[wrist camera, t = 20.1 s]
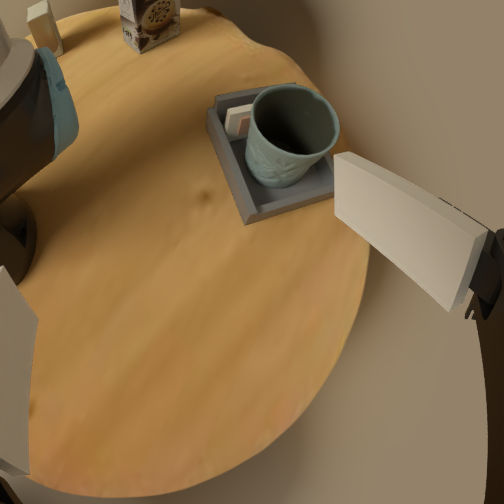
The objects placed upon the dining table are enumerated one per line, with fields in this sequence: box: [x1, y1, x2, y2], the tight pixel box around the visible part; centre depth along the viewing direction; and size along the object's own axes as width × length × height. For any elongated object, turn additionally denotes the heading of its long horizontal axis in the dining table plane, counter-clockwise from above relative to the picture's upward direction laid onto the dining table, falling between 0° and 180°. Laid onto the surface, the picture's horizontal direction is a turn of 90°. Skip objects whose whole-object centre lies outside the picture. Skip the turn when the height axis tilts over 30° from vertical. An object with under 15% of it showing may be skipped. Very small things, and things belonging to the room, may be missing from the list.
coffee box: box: [119, 0, 180, 54], centre depth 39 cm, size 9×6×16 cm
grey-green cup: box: [245, 84, 340, 189], centre depth 38 cm, size 10×10×12 cm
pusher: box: [224, 104, 253, 142], centre depth 41 cm, size 1×11×7 cm, turn 111°
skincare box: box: [27, 0, 63, 58], centre depth 37 cm, size 6×4×12 cm
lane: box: [206, 83, 335, 226], centre depth 42 cm, size 16×14×7 cm
